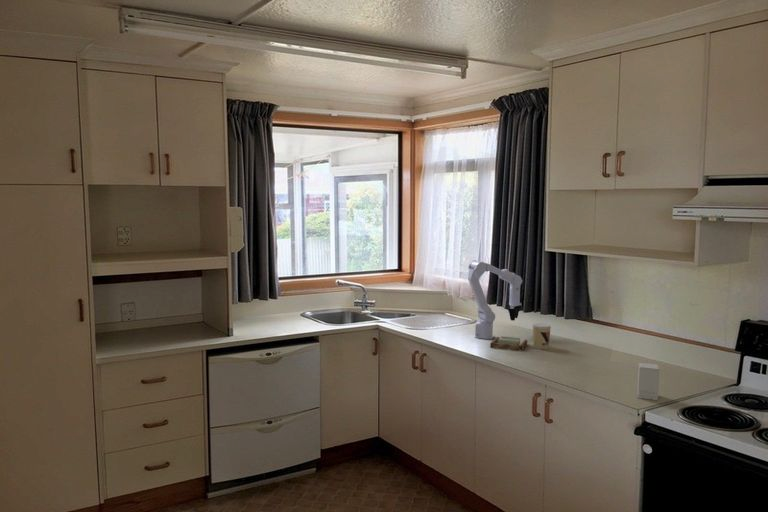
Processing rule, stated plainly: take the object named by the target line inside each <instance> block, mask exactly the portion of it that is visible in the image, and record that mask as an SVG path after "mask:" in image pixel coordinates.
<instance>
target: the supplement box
mask: <svg viewBox="0 0 768 512" xmlns="http://www.w3.org/2000/svg"><path fill="white" fill-rule="evenodd" d="M637 372H638V374H637V375H638V376H637V391H636V392H637V398H638V399H643V398H644V399H646V400H651V399H652V401H658V399H659V384H660V383H659V382H660V381H659V379H660V367H659V364H658V363H657V364H655V363H646V362H645V363H644V362H643V363H641V362H639V363H638V371H637ZM644 399H643V400H644Z"/></svg>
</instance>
